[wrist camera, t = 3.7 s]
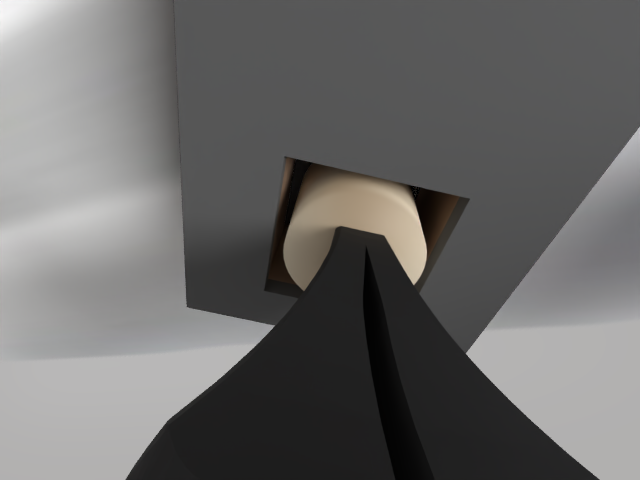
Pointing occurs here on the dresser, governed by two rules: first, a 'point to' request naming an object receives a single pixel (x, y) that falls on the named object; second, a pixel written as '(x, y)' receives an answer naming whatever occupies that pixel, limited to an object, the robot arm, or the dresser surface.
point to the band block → (398, 132)
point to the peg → (351, 219)
